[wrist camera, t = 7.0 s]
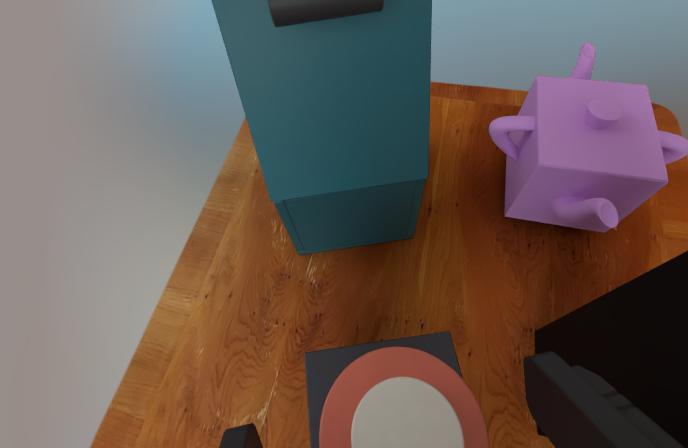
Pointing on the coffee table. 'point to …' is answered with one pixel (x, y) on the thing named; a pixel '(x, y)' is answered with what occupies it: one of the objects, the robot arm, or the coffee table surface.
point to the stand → (332, 362)
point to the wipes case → (352, 216)
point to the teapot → (583, 150)
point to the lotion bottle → (401, 404)
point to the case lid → (332, 90)
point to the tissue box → (634, 343)
